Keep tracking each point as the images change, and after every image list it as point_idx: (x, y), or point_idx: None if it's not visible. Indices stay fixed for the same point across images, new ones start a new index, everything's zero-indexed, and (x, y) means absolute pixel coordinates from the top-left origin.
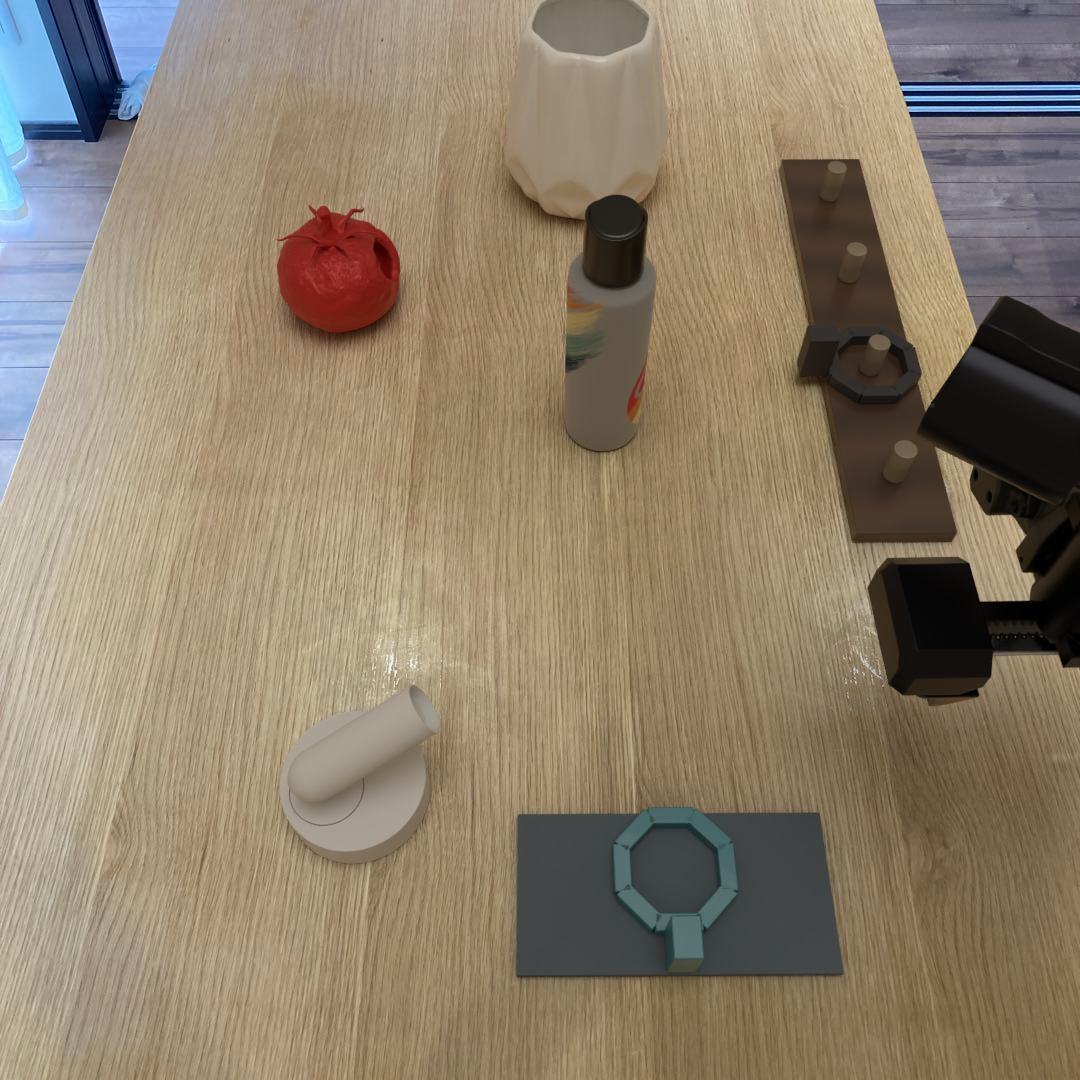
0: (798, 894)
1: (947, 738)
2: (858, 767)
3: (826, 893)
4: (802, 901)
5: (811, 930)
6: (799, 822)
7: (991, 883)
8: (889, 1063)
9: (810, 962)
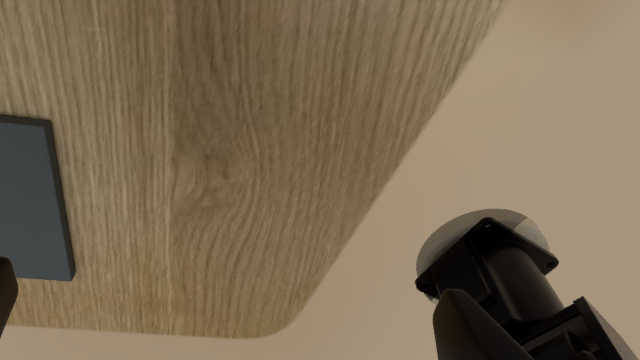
0: (15, 213)
1: (277, 38)
2: (121, 62)
3: (52, 217)
4: (21, 220)
5: (32, 247)
6: (12, 136)
7: (268, 217)
8: (119, 328)
9: (32, 271)
